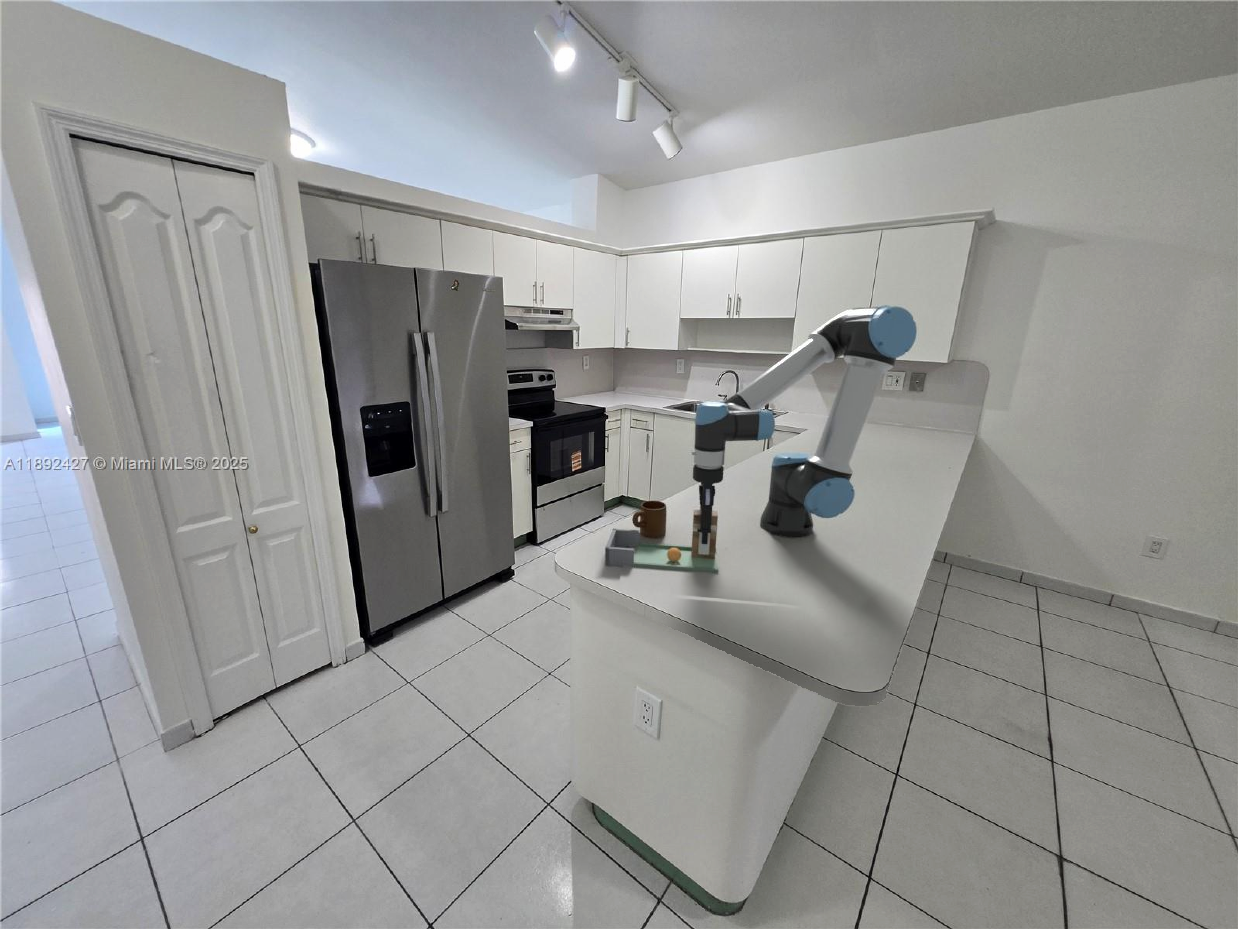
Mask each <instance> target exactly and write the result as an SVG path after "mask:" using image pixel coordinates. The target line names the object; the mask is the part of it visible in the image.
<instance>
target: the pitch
mask: <svg viewBox="0 0 1238 929" xmlns="http://www.w3.org/2000/svg"><path fill="white" fill-rule="evenodd" d="M639 540H640V529H639V530H638V529H623V528H612V530H611V533H610V536H609V538H608V541H607V543H606V545H605V548H604V549H605V550H604V551H605V554H604V555H605V556H604V557H605V558H604V559H605V562H604V566H605V567H613V568H614V567H615V568H624V566H628V567H638V568H639V567H640V568H650V569H651V568H654V569H655V568H656V569H662V570H663V569H666V570H677V571H678V570H679V571H690V572H691V571H692V572H704V573H714V574H715V573H717V574H718V573H719V566H718V557H717V549H716V550H715V559H708V558H695V557H692V545H682V544H670V543H669V544H668V543H667V544H666V543H654V542H653V543H652V542H641V541H639ZM630 547H637V549H636V554H635V548H630ZM671 548H677V549H679V550H680V552H681V558H680V560H679V561H677V562H672V561H670V560H669V559H668V557H667V552H668V550H669V549H671Z"/></svg>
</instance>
